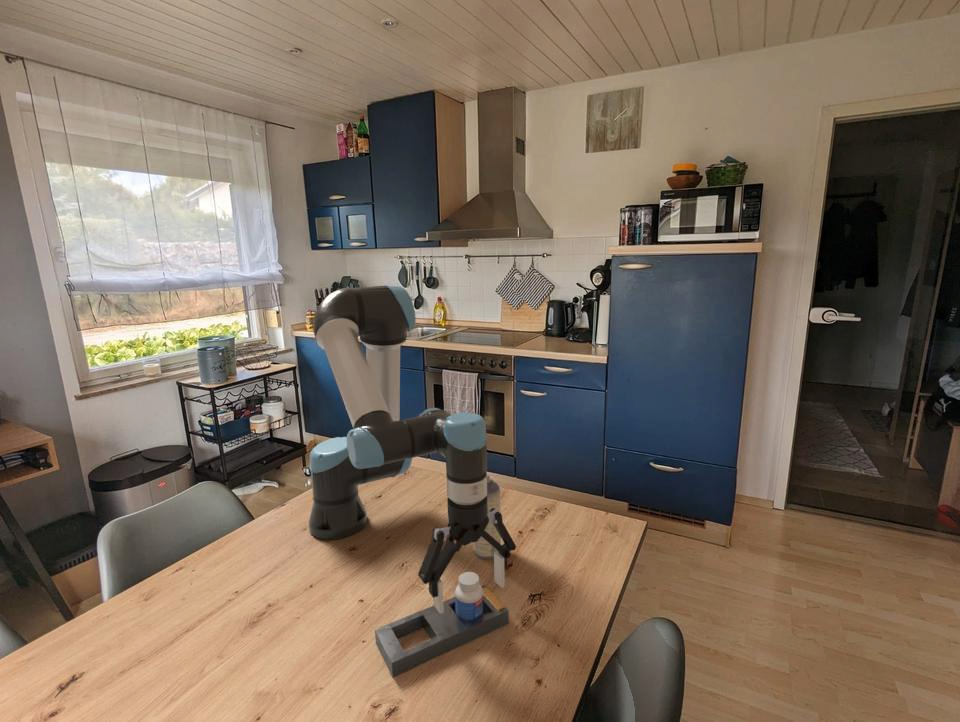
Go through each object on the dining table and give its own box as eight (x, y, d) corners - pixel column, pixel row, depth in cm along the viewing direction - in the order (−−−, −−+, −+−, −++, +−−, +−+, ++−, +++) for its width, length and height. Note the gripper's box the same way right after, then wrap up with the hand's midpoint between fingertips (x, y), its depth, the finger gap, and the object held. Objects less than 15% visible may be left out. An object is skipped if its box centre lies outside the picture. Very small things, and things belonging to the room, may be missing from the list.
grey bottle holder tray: (375, 643, 92) (374, 628, 91) (485, 597, 103) (484, 583, 103) (392, 677, 84) (391, 662, 83) (508, 623, 96) (508, 609, 95)
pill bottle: (480, 634, 93) (479, 589, 91) (453, 630, 94) (451, 586, 92) (485, 613, 99) (484, 571, 96) (459, 610, 100) (458, 568, 97)
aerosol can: (504, 545, 122) (503, 471, 117) (496, 561, 115) (495, 483, 111) (478, 540, 124) (477, 467, 120) (469, 556, 118) (467, 479, 113)
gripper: (413, 524, 82) (419, 633, 86) (533, 487, 94) (533, 584, 98) (396, 505, 88) (403, 608, 92) (511, 473, 100) (512, 564, 105)
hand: (470, 596), depth 95 cm, fingers open, 13 cm apart
